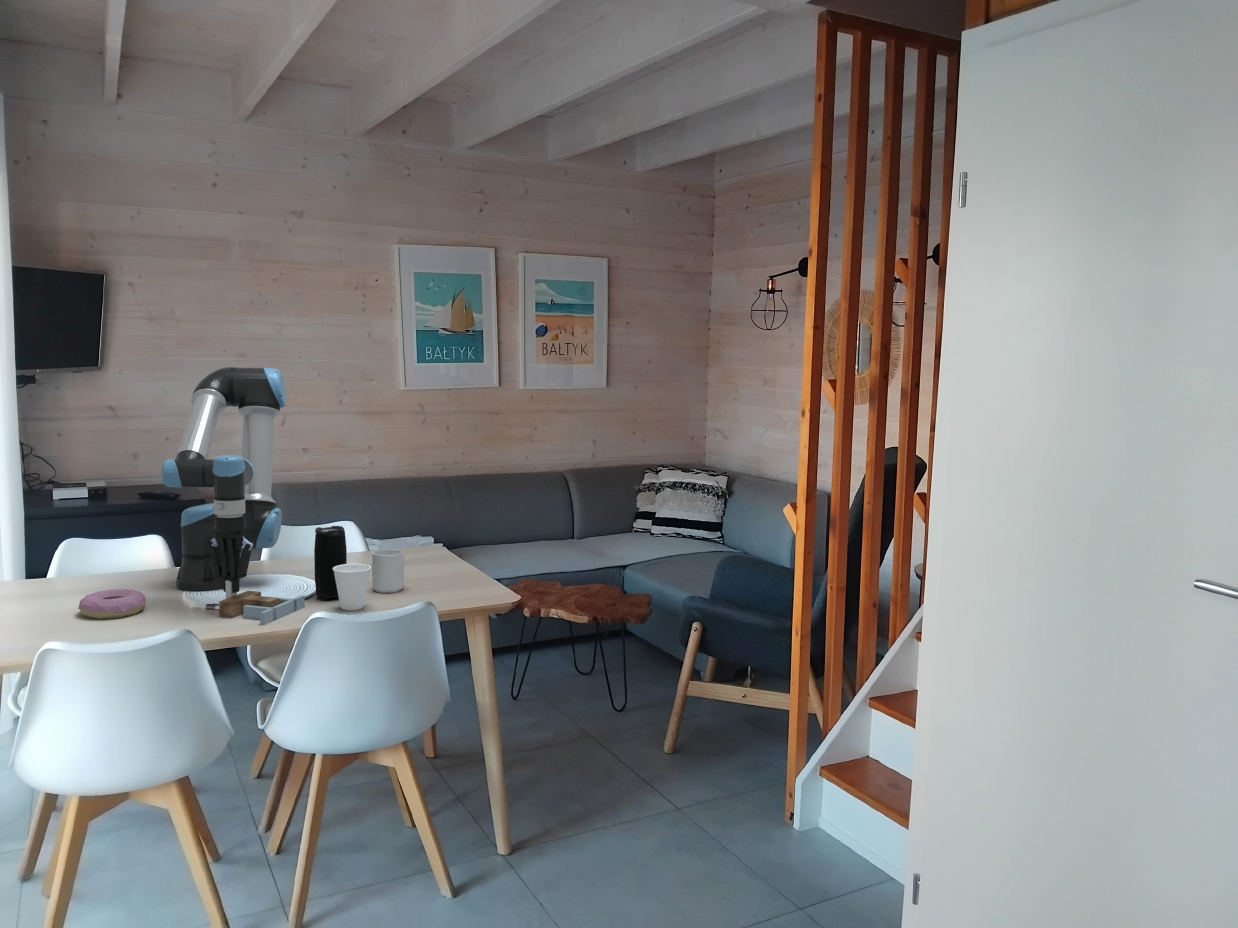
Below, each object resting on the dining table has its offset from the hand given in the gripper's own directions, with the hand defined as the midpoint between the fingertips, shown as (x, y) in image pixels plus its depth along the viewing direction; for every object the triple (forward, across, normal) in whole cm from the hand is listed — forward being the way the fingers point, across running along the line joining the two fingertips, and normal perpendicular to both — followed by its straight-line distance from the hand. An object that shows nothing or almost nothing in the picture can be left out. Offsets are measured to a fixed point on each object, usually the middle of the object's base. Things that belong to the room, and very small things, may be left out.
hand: (231, 604), depth 250 cm
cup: (+2, +28, +12) cm, 31 cm away
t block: (+2, +7, 0) cm, 7 cm away
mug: (+2, +27, +34) cm, 44 cm away
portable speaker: (+2, +17, +20) cm, 26 cm away
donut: (+2, -27, -11) cm, 29 cm away
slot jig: (+2, +11, 0) cm, 12 cm away
